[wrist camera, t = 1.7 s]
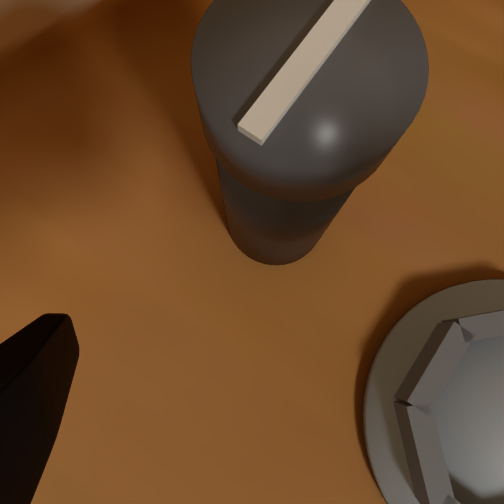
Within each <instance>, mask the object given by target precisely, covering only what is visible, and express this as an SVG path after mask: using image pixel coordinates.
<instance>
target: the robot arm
mask: <svg viewBox="0 0 504 504" xmlns="http://www.w3.org/2000/svg"><path fill="white" fill-rule="evenodd" d="M78 358H79V344H78V340H77V337H76V333H75V330H74V327H73V323H72V320H71V318H70V316H69V315H67V314H62V313H47V314H44V315H42V316H40V317H39V318H37V319H36V320H34V321H33V322H31V323H30V324H29V325H27V326H26V327H24V328H23V329H21V330H20V331H18V332H17V333H15V334H14V335H13V336H11V337H10V338H8V339H7V340H5V341H4V342H2V343H1V344H0V504H31V501H32V499H33V496H34V494H35V491H36V489H37V486H38V484H39V481H40V479H41V476H42V474H43V471H44V469H45V466H46V463H47V461H48V458H49V456H50V453H51V451H52V448H53V445H54V443H55V440H56V437H57V434H58V431H59V427H60V424H61V421H62V417H63V413H64V410H65V406H66V402H67V399H68V395H69V391H70V388H71V384H72V380H73V377H74V373H75V369H76V366H77V362H78Z"/></svg>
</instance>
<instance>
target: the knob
mask: <svg viewBox="0 0 504 504" xmlns="http://www.w3.org/2000/svg"><path fill="white" fill-rule="evenodd" d="M191 70H192V79H193V83H194V88H195V93H196V98H197V102H198V107H199V112H200V116H201V121H202V126H203V130H204V134H205V137H206V140H207V142H208V145H209V147H210V149H211V150H212V152H213V154H214V156H215V157H216V162H217V168H218V174H219V179H220V185H221V191H222V196H223V202H224V208H225V213H226V219H227V225H228V229H229V233H230V235H231V238H232V239H233V241H234V243H235V244H236V246H237V247H238V248H239V249H240V250H241V251H242V252H243V253H244V254H245V255H246V256H248V257H249V258H251V259H253V260H255V261H257V262H260V263H263V264H268V265H284V264H288V263H292V262H294V261H297V260H299V259H301V258H302V257H304V256H305V255H306V254H308V253H309V252H310V251H311V250H312V249H313V247H314V246H315V245H316V243H317V242H318V241H319V239H320V238H321V236H322V235H323V233H324V232H325V230H326V229H327V228H328V226H329V225H330V223H331V222H332V220H333V219H334V218H335V216H336V215H337V213H338V212H339V210H340V209H341V207H342V206H343V205H344V203H345V202H346V200H347V199H348V197H349V196H350V194H351V193H352V192H353V190H354V189H355V187H357V186H358V185H359V184H361V183H362V182H364V181H365V180H366V179H367V178H368V177H370V176H371V175H372V174H373V173H374V172H375V171H376V169H377V168H378V167H379V166H380V164H381V163H382V162H383V161H384V159H385V158H386V157H387V155H388V154H389V153H390V151H391V150H392V148H393V147H394V146H395V144H396V143H397V142H398V140H399V139H400V138H401V136H402V135H403V134H404V132H405V131H406V130H407V128H408V127H409V126H410V124H411V123H412V122H413V120H414V118H415V116H416V115H417V113H418V111H419V109H420V107H421V104H422V102H423V99H424V97H425V93H426V88H427V84H428V73H429V64H428V54H427V49H426V45H425V41H424V38H423V36H422V33H421V30H420V28H419V26H418V24H417V22H416V21H415V19H414V17H413V15H412V14H411V13H410V11H409V10H408V9H407V7H406V6H405V5H404V4H403V2H402V1H401V0H214V1H213V2H212V3H211V5H210V6H209V7H208V9H207V10H206V12H205V13H204V15H203V17H202V19H201V21H200V23H199V25H198V28H197V30H196V33H195V36H194V41H193V45H192V53H191Z"/></svg>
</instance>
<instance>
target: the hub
mask: <svg viewBox="0 0 504 504" xmlns="http://www.w3.org/2000/svg"><path fill="white" fill-rule="evenodd" d="M363 432H364V439H365V445H366V452H367V455H368V459H369V462H370V466H371V470H372V473H373V475H374V477H375V480H376V482H377V485H378V487H379V490H380V492H381V494H382V495H383V497H384V499H385V501H386V503H387V504H504V280H498V279H489V280H480V281H472V282H468V283H464V284H460V285H456V286H452V287H449V288H447V289H444V290H442V291H439V292H437V293H434V294H432V295H431V296H429V297H427V298H426V299H424V300H422V301H420V302H419V303H418V304H416V305H415V306H414V307H412V308H411V309H410V310H409V311H407V312H406V313H405V314H404V315H403V316H402V317H401V318H400V319H399V320H398V321H397V322H396V323H395V325H394V326H393V327H392V328H391V330H390V331H389V333H388V334H387V335H386V337H385V338H384V340H383V341H382V343H381V345H380V347H379V349H378V351H377V353H376V355H375V357H374V360H373V362H372V365H371V368H370V371H369V374H368V378H367V383H366V387H365V391H364V402H363Z"/></svg>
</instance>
